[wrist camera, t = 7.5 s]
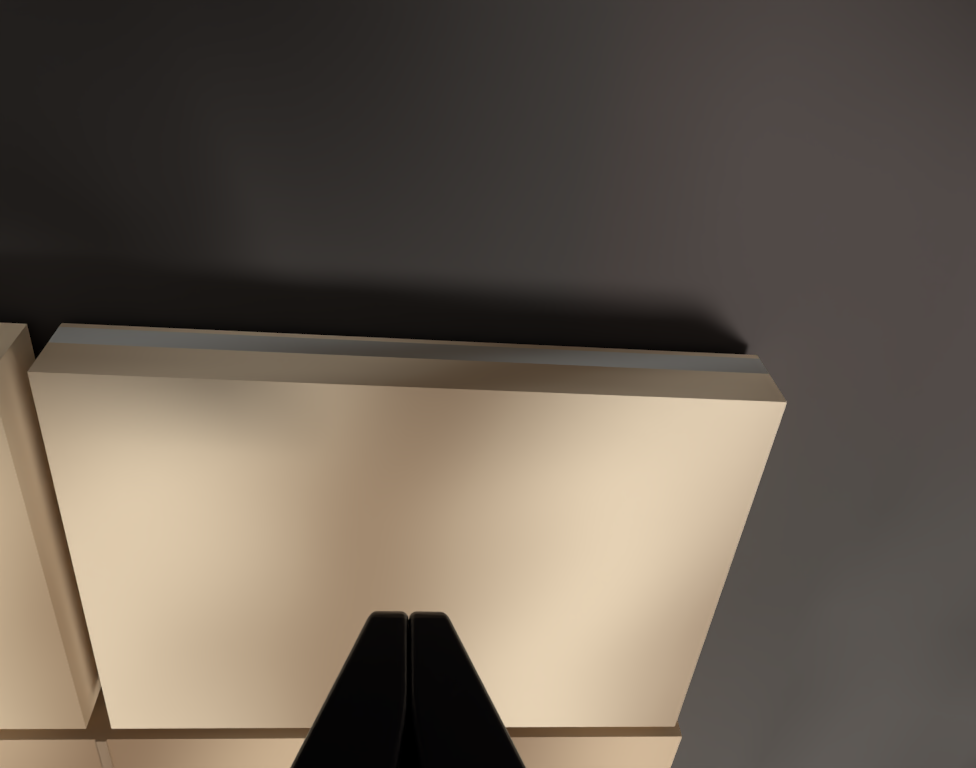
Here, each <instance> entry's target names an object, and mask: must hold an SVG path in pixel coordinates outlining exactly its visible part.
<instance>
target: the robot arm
mask: <svg viewBox="0 0 976 768" xmlns="http://www.w3.org/2000/svg"><path fill="white" fill-rule="evenodd" d="M290 768H526V766H525V764H524V762H523V760H522V759H521V757H520V755H519V753H518V751H517V749H516V747H515V745H514V743H513V741H512V739H511V737H510V735H509V733H508V731H507V729H506V727H505V725H504V723H503V721H502V719H501V718H500V716H499V714H498V712H497V710H496V708H495V706H494V704H493V702H492V700H491V698H490V696H489V694H488V692H487V690H486V688H485V686H484V684H483V682H482V680H481V678H480V676H479V675H478V673H477V671H476V669H475V667H474V665H473V663H472V661H471V659H470V657H469V655H468V653H467V651H466V649H465V647H464V645H463V643H462V641H461V639H460V637H459V635H458V633H457V632H456V630H455V628H454V626H453V624H452V622H451V620H450V618H449V617H448V616H447V614H446V613H444V612H434V611H415V612H413V613H411V614H410V616H409V620H408V615H407V614H406V613H405V612H403V611H374V612H372V613H371V614H370V615H369V617H368V618H367V620H366V622H365V624H364V626H363V628H362V630H361V631H360V633H359V635H358V637H357V639H356V641H355V643H354V645H353V647H352V649H351V651H350V653H349V655H348V657H347V659H346V660H345V662H344V664H343V666H342V668H341V670H340V672H339V674H338V676H337V678H336V680H335V682H334V684H333V686H332V688H331V689H330V691H329V693H328V695H327V697H326V699H325V701H324V703H323V705H322V707H321V709H320V711H319V713H318V715H317V717H316V718H315V720H314V722H313V724H312V726H311V728H310V730H309V732H308V734H307V736H306V738H305V740H304V742H303V744H302V746H301V747H300V749H299V751H298V753H297V755H296V757H295V759H294V761H293V763H292V765H291V767H290Z"/></svg>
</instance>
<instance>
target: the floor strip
mask: <svg viewBox="0 0 976 768" xmlns="http://www.w3.org/2000/svg"><path fill="white" fill-rule="evenodd" d="M506 729H507V731H508V733H509V735H510V737H511V739H512V741H513V743H514V745H515V747H516V749H517V751H518V753H519V755H520V757H521V759H522V760H523V762H524V764H525V766H526V768H670V767H671V765H672V762H673V759H674V757H675V754H676V751H677V748H678V746H679V743H680V740H681V738H682V735H681V731H680V728H679V724H678V721H676V724H675V727H506ZM309 730H310V728H149V729H111V725H110V720H109V716H108V712H107V708H106V703H105V699H104V695H103V691H102V686H101V689H100V691H99V694H98V697H97V700H96V703H95V705H94V708H93V711H92V714H91V717H90V719H89V722H88V725H87V728H86V729H0V768H290V767H291V765H292V763H293V761H294V759H295V757H296V755H297V753H298V751H299V749H300V747H301V746H302V744H303V742H304V740H305V738H306V736H307V734H308V732H309Z"/></svg>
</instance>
